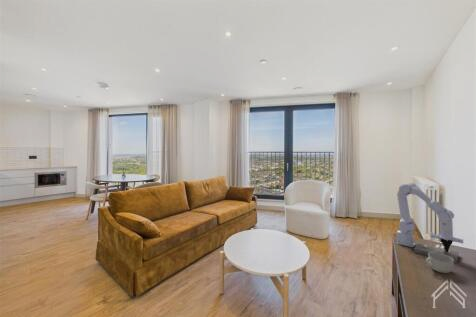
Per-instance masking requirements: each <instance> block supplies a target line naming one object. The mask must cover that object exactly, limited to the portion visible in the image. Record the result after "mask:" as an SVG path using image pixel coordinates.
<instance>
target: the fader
mask: <svg viewBox="0 0 476 317" xmlns="http://www.w3.org/2000/svg"><path fill="white" fill-rule="evenodd" d="M434 247H435V252H439V253H444V252H445V248H444V246H443V245H442V244H436V245H435V246H434Z"/></svg>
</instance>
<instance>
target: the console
mask: <svg viewBox="0 0 476 317" xmlns="http://www.w3.org/2000/svg"><path fill="white" fill-rule="evenodd" d="M430 252H435V246H433V245H426V244H423V243H417V244H415V246H414V247H413V253H416V254H419V255H424V256H427V257H428V253H430ZM436 253H439V252H436ZM441 254H445V255H447V256H450V257H451V258H453V259H454V263H457V262H458V258H459V251H455V250H451V249H449V252H444V253H441Z"/></svg>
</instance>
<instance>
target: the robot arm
mask: <svg viewBox="0 0 476 317" xmlns="http://www.w3.org/2000/svg"><path fill="white" fill-rule="evenodd" d="M396 194H397V202H398V208H399V214H400V220H399V222H398V223H399V225H398V230H397V232H396V244H398V245H401V246H405V247H410V248H415V247H416V243H415V240H414V238H415V237H414V231H415V229H416V225H415V223H414V220H413V219H411V215H410V208H409V202H408V196H409V195H413V196H417V197H418V198H420V199H421V200H422V201H423V202H424V203H425V204H427V207H428V208H429V209H430V210H431V211H433V212H434V213H435V214H436V215H437V218H438V219H439V227H440V229H439V232H440V234H437V233H436V234H435V233H431V234H430V238H432V239H434V238H435V239H440V242H441V245H442V246H444V248H445V252H449V250H450V247H451V246H452V244H453V242H455V243H460V244H464V239H462V238H458V237H454V231H453V230H454V229H453V227H454V226H453V224H454V223H453V220H454V218H455V214H454V213H453V211H451V210H449V209H448V208H446V207H444V206H443V205H441V202H440V201H436V200H433V199H431V198H430V197H429V196H428V195H427V194H426V193H425V192H424V191H423V190H422V189H421V188H420V187H419V186H418V185H416V183H414V182H410V183H405V184H400V186H399V187H398V191H397V193H396Z"/></svg>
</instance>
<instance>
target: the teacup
mask: <svg viewBox="0 0 476 317" xmlns="http://www.w3.org/2000/svg"><path fill="white" fill-rule="evenodd" d="M425 264H426V265H427V266H429V267H430V268H431V269H432V270H434V271H436V272H438V273H440V274H449V273H451V272H453V270H454V267H455V266H454V264H455V262H454V259H453V258H451V257H450V256H447V255H445V254H441V253H436V252H430V253H428V256H427V258H426V259H425Z"/></svg>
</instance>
